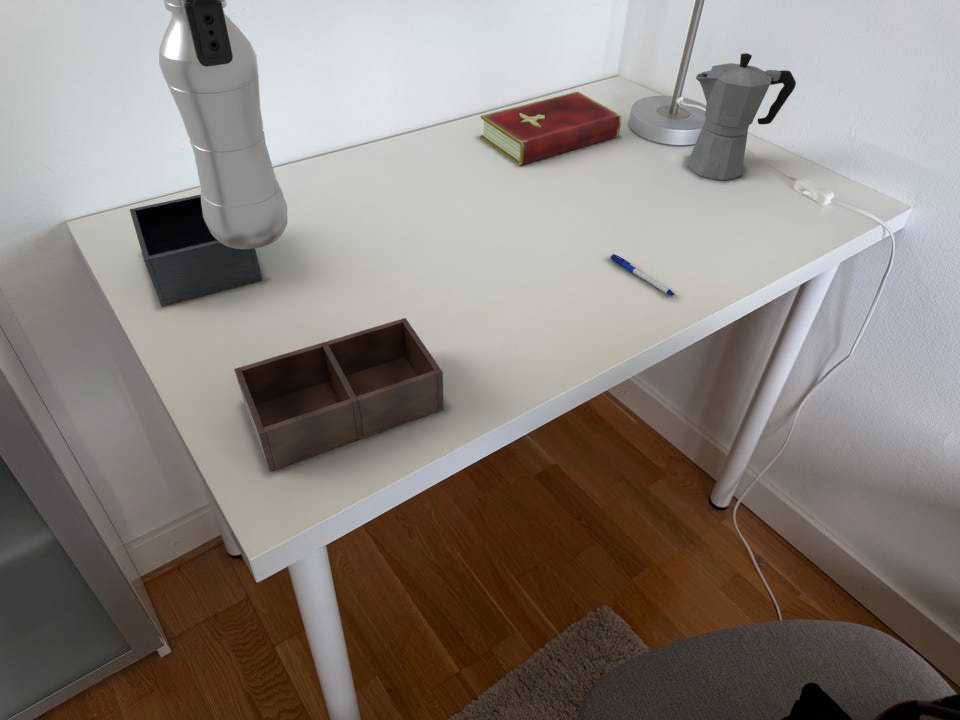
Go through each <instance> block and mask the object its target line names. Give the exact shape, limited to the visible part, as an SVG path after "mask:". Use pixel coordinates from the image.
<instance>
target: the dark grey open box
mask: <svg viewBox="0 0 960 720" xmlns="http://www.w3.org/2000/svg"><path fill="white" fill-rule="evenodd" d="M129 213H130V217H131V221H132V223H133V226H134V231H135V235H136V237H137V241H138V244H139V248H140V251H141V255H142V258H143V262H144V264H145V267H146V269H147V271H148V274H149V277H150V280H151V283H152V286H153V288H154V292H155V294H156V296H157V299H158V302H159V304H160V307H165V306H169V305H173V304H177V303H181V302H184V301H189V300H193V299H197V298H200V297H204V296H208V295H212V294H215V293H216V294H217V293H220V292H223V291H224V292H225V291H227V290H232V289H235V288H240V287H243V286H246V285H251V284H254V283H258V282H262V281H263V276H262V272H261V267H260V263H259V260H258V255H257V250H256V248H255V249H235V248H231V247H228V246H225V245H224V244H222V243H221V242H219V241H218V240H217V239H216V238H214V237H213V235H212V234H211V232H210V230H209V228H208V226H207V224H206V223H205V220H204V218H203V212H202V205H201V194H197V195H192V196H187V197H182V198H176V199H173V200H172V199H171V200H168V201H167V200H166V201H163V202H158V203H154V204H147V205H143V206H139V207H134V208H129Z"/></svg>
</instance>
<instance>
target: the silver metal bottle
mask: <svg viewBox="0 0 960 720" xmlns="http://www.w3.org/2000/svg"><path fill="white" fill-rule="evenodd" d="M163 3H164V8H165V10H166V11H168V12H170V13H171V19H170V21H169V22H168V25H167V27H166V29H165V32H164V34H163V36H162V40H161V42H160V45H159V49H158V65H159V68H160V70H161V73H162V76H163V78H164V80H165V82H166V85H167V88H168V90H169V91H170V94H171V96H172V99H173V100H174V103H175V105H176V107H177V110H178V111H179V114H180V116H181V119H182V122H183V125H184V128H185V132H186V134H187V136H188V138H189V143H190V145H191V148H192V152H193V155H194V161H195V165H196V171H197V176H198V181H199V186H200V195H201V205H202V212H203V218H204V220H205V223H206V224H207V226H208V228H209V230H210V232H211V234H212V235H213V237H214V238H216V239H217V240H218V241H219V242H221V243H222V244H224V245H225V246H228V247H231V248H235V249H255V250H256V249H259V248H260V249H261V248H264V247H267V246H269V245H271V244H273V243H275V242H276V241H278V240H279V239H280V238H281V237H282V235H283V234H284V232H285V230H286V228H287V226H288V204H287V200H286V198H285V195H284V193H283V189H282V188H281V186H280V184H279V181H278V180H277V177H276V173H275V170H274V167H273V163H272V160H271V157H270V153H269V150H268V146H267V143H266V136H265V131H264V123H263V116H262V111H261V95H260V93H261V92H260V75H259V65H258V58H257V56H258V55H257V54H256V51H255V50H254V47H253V46H252V43H251V42H250V40H249V39H248V38H247V37H246V36H245V34H244V33H243V32H242V30H241V29H240V28H239V26H237V25H236V24H235V23H234V22H233V20H232V19H231V18H230V17H228V15H227V14H226V13H225V8H226V7H227V5H228V4H227V3H228V2H227V0H224V1H223V2H221V3H222V8H223V12H224V17H225V22H226V26H227V31H228V36H229V41H230V45H231V50H232V55H233V59H232V61H231V62H230V63H228V64H222V65H215V66H208V67H206V66H203V65H201V64H200V62H199V61H198V59H197V57H196V53H195V49H194V45H193V41H192V37H191V33H190V28H189V24H188V20H187V16H186V12H185V8H184V5H183V3H182V0H163Z"/></svg>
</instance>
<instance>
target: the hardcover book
mask: <svg viewBox="0 0 960 720" xmlns="http://www.w3.org/2000/svg"><path fill="white" fill-rule="evenodd" d="M480 119H481V120H483V129H482V130H483V133H482V135H479V139H480V140H482V141H483V142H485V143H486V144H488V145H489V146H490V147H492V148H493V149H494V150H496V151H497V152H499V153H501V154H502V155H503V156H505V157H506V158H507V159H509V160H510V161H511V162H512V163H514V164H516V165H517V166H518V167H519V166H522V165H526V164H530V163H533V162H536V161H539V160H544V159H546V158H547V159H548V158H551V157H553V156H557V155H560V154H564V153H567V152H570V151H574V150H577V149H581V148H585V147H587V146H590V145H594V144H595V145H596V144H597V143H602V142H605V141H608V140H612V139H614V138H617V137H619V134H620V131H621V125H622V115H621V114H620V113H617V112H616V111H615V110H613V109H611V108H609V107H607V106H606V105H603V104H601V103H599V102H598V101H596V100H594V99H593V98H591V97H589V96H587V95H585V94H583V93H582V92H580V91H574V92H570V93H566V94H562V95H558V96H554V97H550V98H546V99H542V100H538V101H535V102H530V103H526V104H521V105H519V106H515V107H510V108H507V109H502V110H498V111H494V112H491V113H486V114H482V115H480Z"/></svg>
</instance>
